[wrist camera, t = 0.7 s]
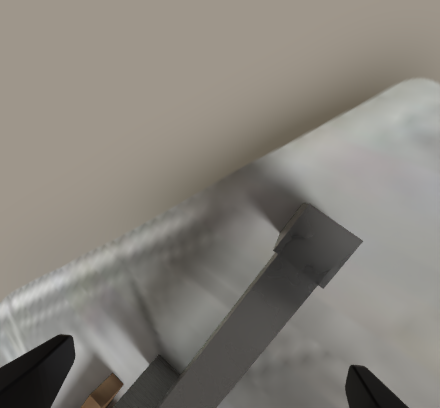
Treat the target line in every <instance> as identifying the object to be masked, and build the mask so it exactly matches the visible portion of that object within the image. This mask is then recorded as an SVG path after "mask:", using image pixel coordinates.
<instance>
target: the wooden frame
mask: <svg viewBox="0 0 440 408" xmlns="http://www.w3.org/2000/svg"><path fill="white" fill-rule="evenodd" d="M122 386H123V383H122V382H121V381H120V380H119V379H118V378H117V377H116V376H115V375H114V374H113V373H112V374H111V375H110V376H109V377H108V378H107V379H106V380H105V381H104V382H103V383H102V384H101V385H100V386H99V387H98V388H97V389H95V390H94V391H93V392H92V393H91V394H90V395H89V397H88V398H87V400H86V401H85V402H84V404H83V405H82V407H81V408H107V406H108V405H109V404H110V402H111V401H112V399H113V398H114V397H115V395H116V394H117V393H118V391H119V390H120V389H121V387H122Z"/></svg>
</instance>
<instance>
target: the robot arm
mask: <svg viewBox="0 0 440 408" xmlns="http://www.w3.org/2000/svg"><path fill="white" fill-rule="evenodd" d="M74 360H75V348H74V341H73V337H72V336H71V335H63V334H60V335H57V336H55V337H53V338H52V339H50V340H48V341H46V342H45V343H43V344H41V345H39V346H38V347H36V348H34V349H32V350H31V351H29V352H27V353H25V354H24V355H22V356H20V357H18V358H17V359H15V360H13V361H11V362H10V363H8V364H6V365H4V366H3V367H1V368H0V408H50V407H51V406H52V404H53V402H54V400H55V398H56V396H57V394H58V392H59V390H60V388H61V386H62V384H63V382H64V380H65V378H66V376H67V375H68V373H69V371H70V369H71V367H72V365H73V363H74ZM345 391H346V396H347V400H348V404H349V408H409V407H408V406H407V405H405V404H404V403H403V402H402V401H401V400H400V399H399V398H398V397H397V396H396V395H395V394H394V393H393V392H392V391H391V390H390V389H389V388H388V387H386V386H385V385H384V384H383V383H382V382H381V381H380V380H379V379H378V378H377V377H376V376H375V375H374V374H373V373H372V372H371V371H370V370H368V369H367V368H366V367H365V366H361V365H351V366H350V367H349V370H348V375H347V380H346V384H345Z"/></svg>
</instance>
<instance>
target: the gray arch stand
mask: <svg viewBox="0 0 440 408" xmlns="http://www.w3.org/2000/svg"><path fill="white" fill-rule="evenodd" d="M362 242H363V241H362V240H361V239H359V238H358V237H357V236H355V235H354V234H352V233H351V232H349V231H348V230H346V229H345V228H344V227H342V226H341V225H339V224H338V223H336V222H335V221H334V220H332V219H331V218H329V217H328V216H326V215H325V214H323V213H322V212H321V211H319V210H318V209H316V208H315V207H313V206H312V205H310V204H306V203H303V204H302V205H301V206H300V208H299V209H298V210H297V212H296V213H295V214H294V215H293V217H292V218H291V219H290V221H289V222H288V223H287V225H286V226H285V227H284V229H283V230H282V231H281V232H280V234H279V237H278V240H277V242H276V245H275V247H274V250H273V251H274V252H275V254H274V255H273V256H272V258H271V259H270V260H269V261H268V263H267V264H266V265H265V267H264V268H263V269H262V270H261V272H260V273H259V274H258V276H257V277H256V278H255V280H254V281H253V282H252V283H251V285H250V286H249V287H248V289H247V290H246V291H245V292H244V294H243V295H242V296H241V298H240V299H239V300H238V301H237V303H236V304H235V305H234V307H233V308H232V309H231V311H230V312H229V313H228V314H227V316H226V317H225V318H224V320H223V321H222V322H221V323H220V325H219V326H218V327H217V329H216V330H215V331H214V332H213V334H212V335H211V336H210V338H209V339H208V340H207V342H206V343H205V344H204V345H203V347H202V348H201V349H200V351H199V352H198V353H197V354H196V356H195V357H194V358H193V360H192V361H191V362H190V363H189V365H188V366H187V367H186V369H185V370H184V371H183V372H182V374H181V375H180V374H179V373H178V372H177V371H175V370H174V369H173V368H172V367H171V366H170V365H169V364H168V363H167V362H166V361H165V360H164V359H163V358H162V357H161V356H160V355H158V356H157V357H156V358H155V359H154V361H153V362H152V363H151V364H150V365H149V366H148V367H147V369H146V370H145V371H144V372H143V373H142V374H141V375H140V377H139V378H138V379H137V380H136V381H135V382H134V384H133V385H132V386H131V387H130V388H129V389H128V390H127V392H126V393H125V394H124V395H123V396H122V397H121V398H120V400H119V401H118V402H117V403H116V404H115V405H114V406H113V408H216V407H217V406H218V405H219V404H220V402H221V401H222V400H223V399H224V398H225V396H226V395H227V394H228V393H229V392H230V390H231V389H232V388H233V387H234V386H235V384H236V383H237V382H238V381H239V380H240V378H241V377H242V376H243V375H244V374H245V372H246V371H247V370H248V369H249V368H250V366H251V365H252V364H253V363H254V361H255V360H256V359H257V358H258V357H259V355H260V354H261V353H262V352H263V351H264V349H265V348H266V347H267V346H268V345H269V343H270V342H271V341H272V340H273V339H274V337H275V336H276V335H277V334H278V333H279V331H280V330H281V329H282V328H283V327H284V325H285V324H286V323H287V322H288V320H289V319H290V318H291V317H292V316H293V314H294V313H295V312H296V311H297V310H298V308H299V307H300V306H301V305H302V304H303V302H304V301H305V300H306V299H307V298H308V296H309V295H310V294H311V293H312V292H313V290H314V289H315V288H316V287H317V286H318V285H319V286H320V287H322V288H323V289H324V287H325V286H326V285H327V284H328V283H329V281H330V280H331V279H332V278H333V277H334V275H335V274H336V273H337V272H338V271H339V269H340V268H341V267H342V266H343V265H344V263H345V262H346V261H347V260H348V259H349V257H350V256H351V255H352V254H353V253H354V251H355V250H356V249H357V248H358V247H359V245H360V244H361V243H362Z"/></svg>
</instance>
